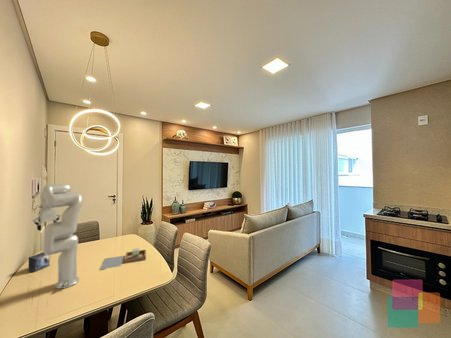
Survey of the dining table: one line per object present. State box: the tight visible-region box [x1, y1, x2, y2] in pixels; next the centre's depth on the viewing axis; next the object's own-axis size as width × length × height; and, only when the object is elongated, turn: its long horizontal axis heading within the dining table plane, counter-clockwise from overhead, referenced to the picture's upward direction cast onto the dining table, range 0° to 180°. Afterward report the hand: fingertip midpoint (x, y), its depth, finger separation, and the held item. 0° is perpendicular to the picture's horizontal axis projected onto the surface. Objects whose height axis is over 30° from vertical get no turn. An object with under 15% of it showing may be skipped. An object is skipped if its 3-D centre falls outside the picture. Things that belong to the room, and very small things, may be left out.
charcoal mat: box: [99, 255, 125, 271], centre depth 159 cm, size 20×14×1 cm
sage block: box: [131, 247, 140, 258], centre depth 167 cm, size 5×5×7 cm
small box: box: [27, 251, 51, 273], centre depth 150 cm, size 11×6×10 cm, turn 168°
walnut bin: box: [123, 249, 147, 264], centre depth 167 cm, size 16×16×3 cm
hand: (47, 228), depth 153 cm, fingers open, 9 cm apart
